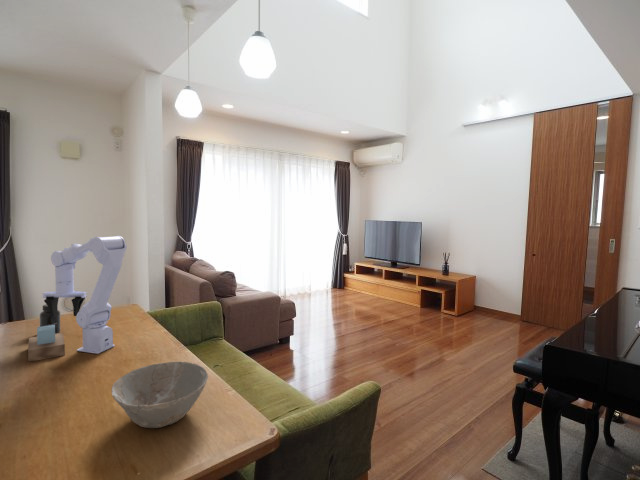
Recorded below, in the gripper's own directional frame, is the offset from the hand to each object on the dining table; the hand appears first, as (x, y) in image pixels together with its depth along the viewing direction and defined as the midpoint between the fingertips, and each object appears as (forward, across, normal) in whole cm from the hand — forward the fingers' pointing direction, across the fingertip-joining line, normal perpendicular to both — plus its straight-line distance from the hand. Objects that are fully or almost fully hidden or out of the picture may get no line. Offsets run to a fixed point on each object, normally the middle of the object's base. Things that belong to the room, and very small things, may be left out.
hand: (65, 315), depth 134 cm
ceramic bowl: (+11, +52, -55) cm, 76 cm away
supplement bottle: (+11, -11, +10) cm, 18 cm away
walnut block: (+10, -1, -10) cm, 14 cm away
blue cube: (+6, -1, -10) cm, 12 cm away
